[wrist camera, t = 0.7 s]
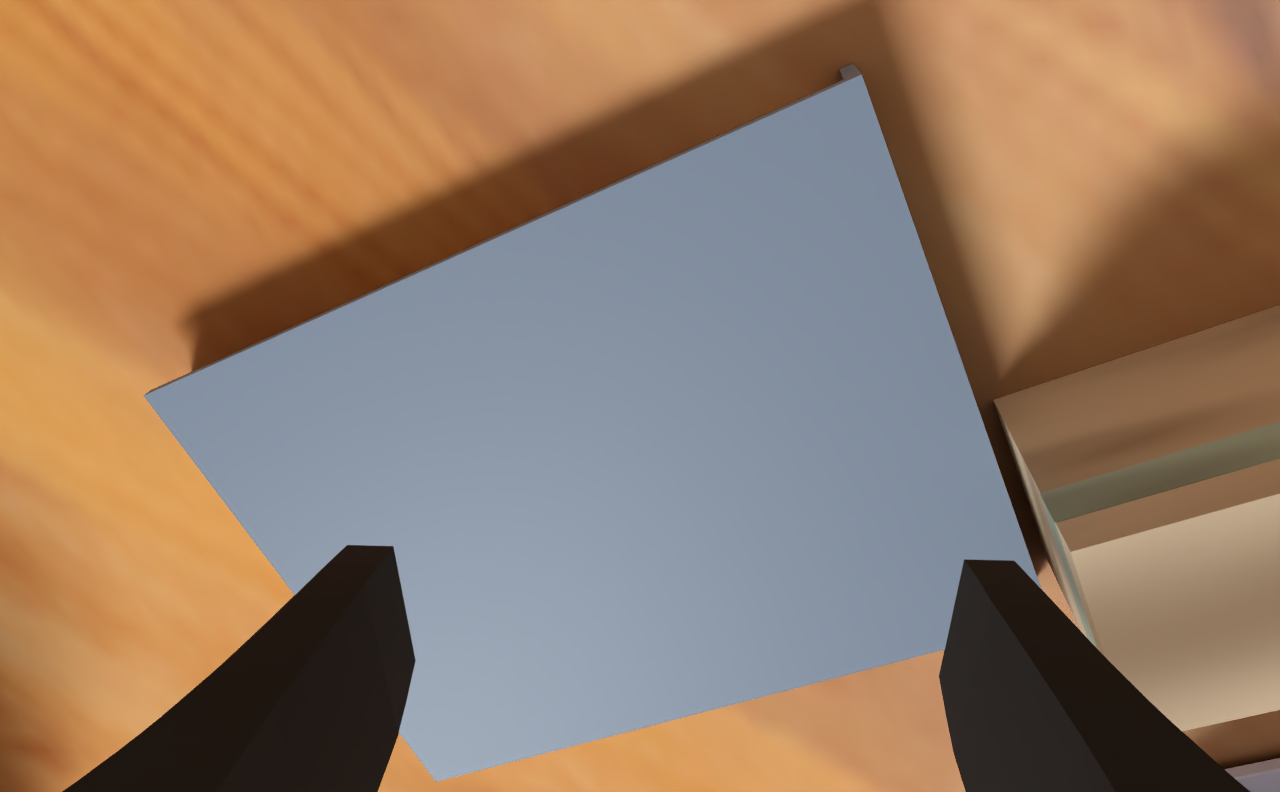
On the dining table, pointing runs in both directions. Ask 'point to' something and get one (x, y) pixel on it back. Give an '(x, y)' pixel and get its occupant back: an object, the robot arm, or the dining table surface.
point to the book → (633, 444)
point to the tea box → (1167, 513)
